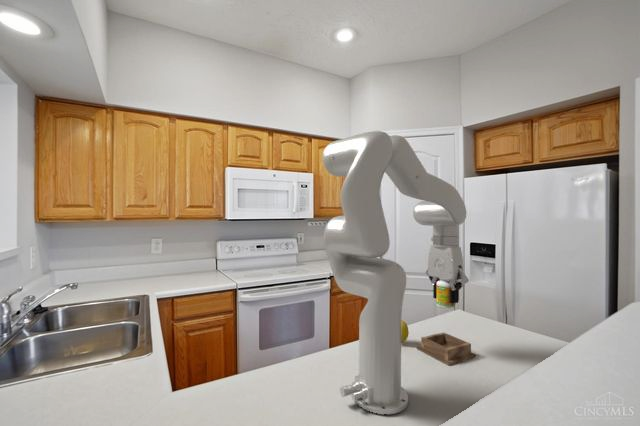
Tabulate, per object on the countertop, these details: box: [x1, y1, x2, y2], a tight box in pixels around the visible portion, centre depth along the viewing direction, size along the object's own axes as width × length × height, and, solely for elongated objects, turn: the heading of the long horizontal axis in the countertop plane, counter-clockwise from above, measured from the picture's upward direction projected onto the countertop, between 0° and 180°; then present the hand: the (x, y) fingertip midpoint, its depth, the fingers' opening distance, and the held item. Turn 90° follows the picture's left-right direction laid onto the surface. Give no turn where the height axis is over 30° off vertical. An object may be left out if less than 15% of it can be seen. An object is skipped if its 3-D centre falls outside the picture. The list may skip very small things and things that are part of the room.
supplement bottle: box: [435, 278, 456, 309], centre depth 91 cm, size 5×5×10 cm
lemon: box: [401, 319, 409, 344], centre depth 97 cm, size 6×6×8 cm
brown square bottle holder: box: [416, 331, 477, 367], centre depth 91 cm, size 12×12×4 cm
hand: (445, 299), depth 91 cm, fingers closed on supplement bottle, 5 cm apart
